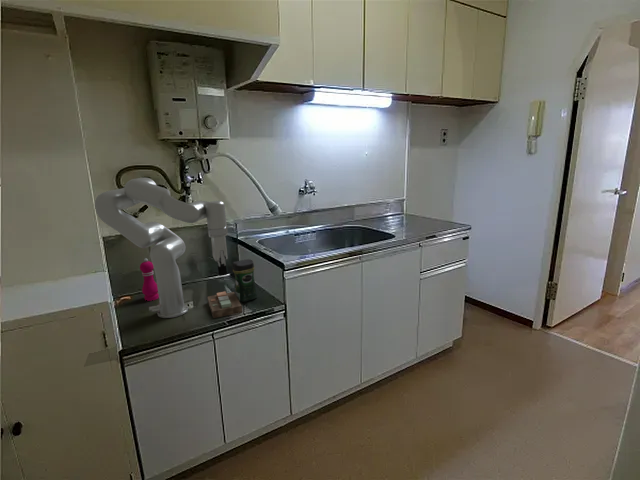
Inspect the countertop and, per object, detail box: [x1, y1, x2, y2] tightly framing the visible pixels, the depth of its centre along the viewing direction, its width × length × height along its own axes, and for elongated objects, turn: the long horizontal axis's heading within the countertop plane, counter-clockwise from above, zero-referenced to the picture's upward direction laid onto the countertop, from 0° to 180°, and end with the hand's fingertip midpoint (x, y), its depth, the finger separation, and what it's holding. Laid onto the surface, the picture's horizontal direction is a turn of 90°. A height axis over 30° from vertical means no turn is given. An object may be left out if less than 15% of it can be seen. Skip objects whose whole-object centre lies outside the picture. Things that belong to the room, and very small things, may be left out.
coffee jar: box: [232, 258, 258, 303], centre depth 171 cm, size 10×8×19 cm
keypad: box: [207, 291, 243, 319], centre depth 164 cm, size 12×18×3 cm, turn 23°
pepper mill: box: [139, 257, 159, 302], centre depth 176 cm, size 7×7×20 cm
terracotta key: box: [216, 290, 227, 299], centre depth 168 cm, size 4×4×3 cm
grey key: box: [218, 296, 229, 304], centre depth 163 cm, size 4×4×3 cm
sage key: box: [220, 300, 231, 309], centre depth 158 cm, size 4×4×3 cm
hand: (222, 274), depth 155 cm, fingers closed
